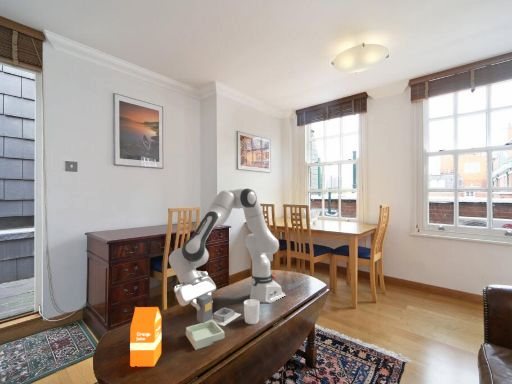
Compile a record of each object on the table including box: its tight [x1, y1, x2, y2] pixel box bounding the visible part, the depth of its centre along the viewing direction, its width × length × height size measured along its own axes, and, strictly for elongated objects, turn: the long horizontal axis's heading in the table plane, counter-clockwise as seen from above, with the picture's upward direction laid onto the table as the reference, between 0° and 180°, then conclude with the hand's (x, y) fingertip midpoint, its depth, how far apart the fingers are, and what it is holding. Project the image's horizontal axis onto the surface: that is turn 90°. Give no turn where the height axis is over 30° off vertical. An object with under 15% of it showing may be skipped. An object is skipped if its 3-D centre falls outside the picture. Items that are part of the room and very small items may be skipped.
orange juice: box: [129, 306, 162, 368], centre depth 98 cm, size 8×9×20 cm
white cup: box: [243, 298, 261, 325], centre depth 127 cm, size 8×8×10 cm
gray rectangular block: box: [196, 294, 213, 323], centre depth 113 cm, size 6×4×10 cm
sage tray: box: [185, 320, 226, 351], centre depth 113 cm, size 13×13×4 cm
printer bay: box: [208, 306, 242, 327], centre depth 130 cm, size 14×12×4 cm
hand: (205, 306), depth 113 cm, fingers closed on gray rectangular block, 5 cm apart
